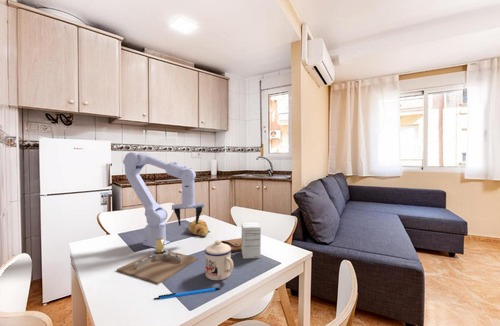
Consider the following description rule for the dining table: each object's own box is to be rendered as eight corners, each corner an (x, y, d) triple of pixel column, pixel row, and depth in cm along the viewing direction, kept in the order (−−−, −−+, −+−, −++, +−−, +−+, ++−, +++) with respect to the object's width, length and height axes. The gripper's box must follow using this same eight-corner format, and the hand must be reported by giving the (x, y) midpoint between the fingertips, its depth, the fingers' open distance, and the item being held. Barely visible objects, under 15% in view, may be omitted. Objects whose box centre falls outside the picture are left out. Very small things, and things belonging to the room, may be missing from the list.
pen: (154, 299, 65) (153, 295, 65) (220, 289, 71) (220, 285, 71) (153, 301, 64) (153, 297, 64) (221, 290, 70) (221, 287, 70)
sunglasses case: (219, 255, 94) (216, 239, 97) (214, 258, 99) (212, 243, 102) (258, 248, 102) (254, 233, 105) (252, 251, 107) (249, 237, 110)
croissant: (210, 243, 118) (217, 228, 119) (194, 237, 112) (201, 222, 114) (195, 231, 135) (201, 218, 137) (180, 226, 130) (187, 212, 132)
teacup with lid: (199, 274, 79) (199, 240, 79) (219, 265, 86) (220, 234, 85) (221, 288, 71) (221, 250, 70) (242, 277, 77) (242, 242, 77)
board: (116, 270, 81) (116, 269, 81) (160, 250, 99) (160, 249, 99) (158, 284, 73) (158, 282, 73) (197, 259, 91) (197, 257, 91)
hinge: (129, 267, 83) (129, 261, 83) (160, 252, 95) (160, 247, 95) (158, 275, 77) (158, 269, 77) (187, 259, 89) (187, 253, 89)
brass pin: (154, 257, 90) (154, 240, 90) (160, 255, 93) (160, 237, 93) (159, 259, 89) (159, 241, 89) (165, 256, 92) (165, 239, 92)
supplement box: (241, 251, 99) (241, 222, 98) (258, 250, 99) (258, 221, 99) (242, 259, 91) (242, 227, 91) (260, 258, 92) (261, 227, 92)
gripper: (172, 197, 100) (172, 228, 100) (205, 195, 105) (205, 225, 105) (171, 194, 107) (171, 223, 107) (203, 193, 112) (203, 221, 112)
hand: (188, 224), depth 106 cm, fingers open, 7 cm apart
